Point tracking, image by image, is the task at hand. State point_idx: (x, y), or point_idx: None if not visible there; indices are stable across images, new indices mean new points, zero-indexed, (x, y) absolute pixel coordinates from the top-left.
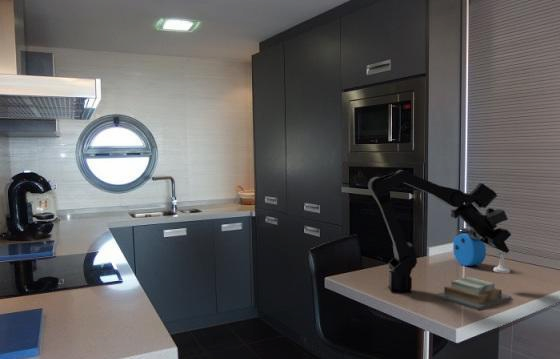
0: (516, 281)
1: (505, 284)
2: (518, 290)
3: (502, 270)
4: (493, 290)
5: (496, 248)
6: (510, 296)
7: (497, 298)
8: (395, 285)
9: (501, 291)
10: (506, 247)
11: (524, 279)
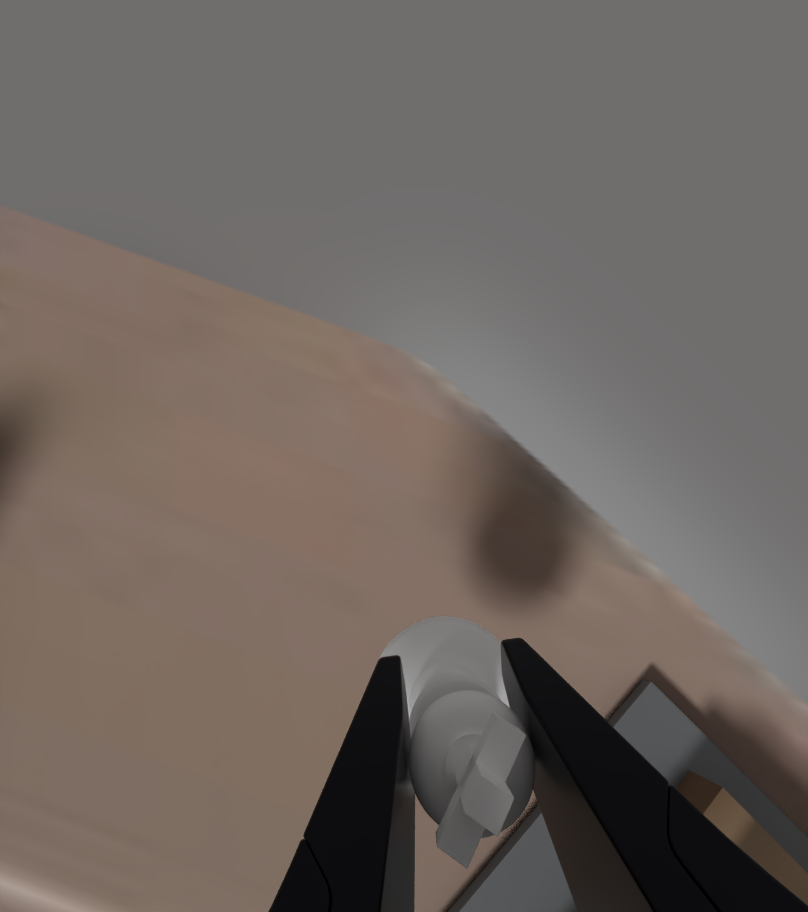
0: (212, 489)
1: (285, 590)
2: (424, 553)
3: None
4: None
5: (412, 856)
6: (659, 690)
7: None
8: None
9: (714, 783)
10: (587, 714)
11: (167, 423)
